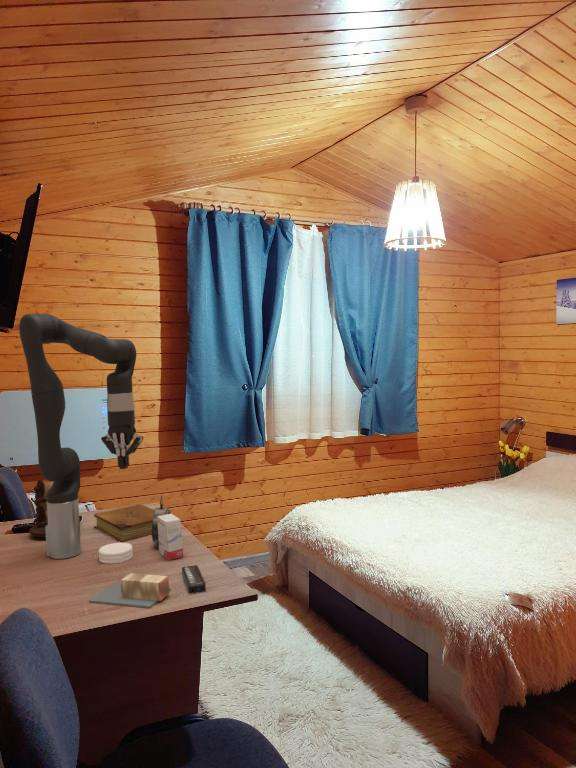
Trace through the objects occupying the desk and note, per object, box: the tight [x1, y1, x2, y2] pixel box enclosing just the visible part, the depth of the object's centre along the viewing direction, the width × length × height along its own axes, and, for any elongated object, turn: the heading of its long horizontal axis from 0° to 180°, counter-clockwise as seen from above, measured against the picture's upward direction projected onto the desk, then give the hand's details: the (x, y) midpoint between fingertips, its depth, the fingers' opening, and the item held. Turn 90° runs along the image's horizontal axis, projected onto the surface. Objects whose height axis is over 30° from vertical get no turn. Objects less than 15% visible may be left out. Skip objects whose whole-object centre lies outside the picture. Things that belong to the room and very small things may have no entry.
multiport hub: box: [181, 564, 207, 594], centre depth 156 cm, size 4×14×2 cm, turn 17°
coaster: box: [98, 542, 134, 565], centre depth 176 cm, size 10×10×4 cm
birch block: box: [120, 572, 170, 602], centre depth 147 cm, size 4×4×11 cm
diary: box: [93, 503, 155, 543], centre depth 206 cm, size 23×19×6 cm
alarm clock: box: [151, 494, 172, 550], centre depth 187 cm, size 11×5×16 cm, turn 2°
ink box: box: [157, 513, 184, 561], centre depth 177 cm, size 9×5×12 cm, turn 31°
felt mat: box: [88, 582, 172, 609], centre depth 148 cm, size 17×11×1 cm, turn 74°
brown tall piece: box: [28, 479, 54, 541], centre depth 202 cm, size 15×15×20 cm
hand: (123, 468), depth 167 cm, fingers closed
